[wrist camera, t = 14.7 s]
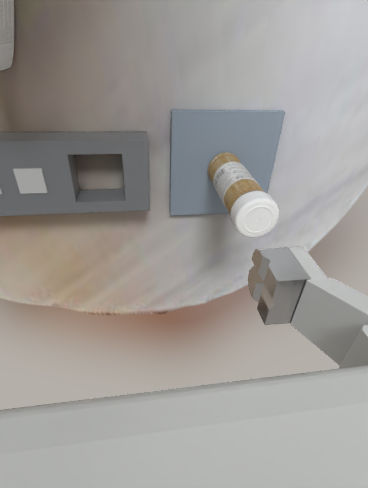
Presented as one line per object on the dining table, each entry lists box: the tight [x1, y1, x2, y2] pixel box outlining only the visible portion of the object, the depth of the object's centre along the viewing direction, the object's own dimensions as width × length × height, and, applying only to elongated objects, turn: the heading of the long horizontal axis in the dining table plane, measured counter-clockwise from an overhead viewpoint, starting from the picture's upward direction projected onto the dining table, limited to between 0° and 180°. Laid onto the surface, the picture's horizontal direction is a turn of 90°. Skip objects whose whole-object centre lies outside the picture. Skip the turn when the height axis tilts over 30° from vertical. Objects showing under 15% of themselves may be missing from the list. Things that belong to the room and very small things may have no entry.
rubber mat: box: [170, 110, 285, 215], centre depth 41 cm, size 14×14×1 cm
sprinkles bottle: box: [208, 152, 279, 238], centre depth 35 cm, size 5×5×14 cm
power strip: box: [0, 132, 150, 216], centre depth 36 cm, size 9×24×4 cm, turn 88°
